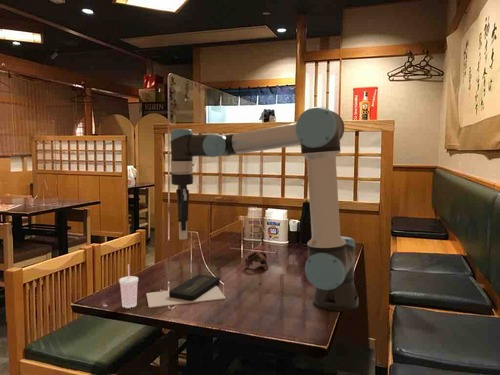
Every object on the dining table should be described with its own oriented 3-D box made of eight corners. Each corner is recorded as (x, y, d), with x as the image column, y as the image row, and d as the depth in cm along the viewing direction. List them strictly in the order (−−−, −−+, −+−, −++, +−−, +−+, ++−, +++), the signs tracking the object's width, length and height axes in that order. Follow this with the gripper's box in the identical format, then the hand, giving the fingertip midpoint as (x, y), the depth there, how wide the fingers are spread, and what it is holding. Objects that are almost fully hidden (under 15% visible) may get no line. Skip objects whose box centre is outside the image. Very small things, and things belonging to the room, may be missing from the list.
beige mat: (225, 299, 138) (225, 297, 138) (148, 308, 130) (148, 307, 130) (216, 286, 150) (216, 285, 150) (146, 294, 142) (146, 293, 142)
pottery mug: (264, 274, 167) (255, 257, 167) (248, 279, 172) (238, 263, 172) (275, 260, 177) (266, 244, 177) (259, 265, 182) (250, 250, 182)
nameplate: (168, 297, 138) (192, 301, 135) (167, 291, 138) (192, 296, 134) (198, 278, 158) (220, 282, 154) (198, 274, 158) (220, 277, 154)
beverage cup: (119, 309, 128) (118, 267, 127) (120, 302, 134) (119, 262, 133) (139, 307, 130) (138, 266, 129) (138, 300, 136) (137, 261, 135)
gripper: (196, 174, 134) (197, 242, 137) (189, 171, 147) (190, 234, 149) (173, 174, 132) (175, 243, 134) (169, 172, 144) (170, 235, 147)
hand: (183, 238), depth 142 cm, fingers closed
